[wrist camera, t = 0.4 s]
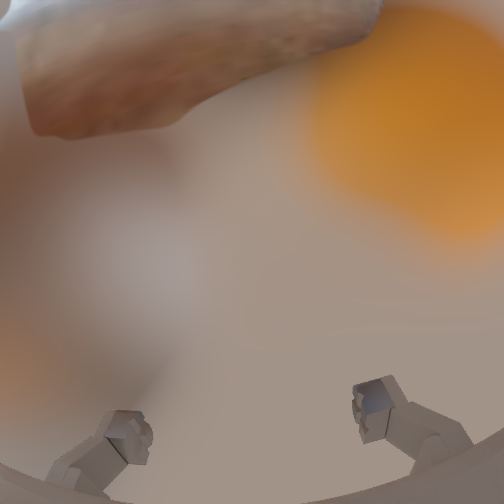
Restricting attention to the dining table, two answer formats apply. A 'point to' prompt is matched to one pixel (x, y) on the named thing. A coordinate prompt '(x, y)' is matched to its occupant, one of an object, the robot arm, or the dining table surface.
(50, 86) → the dining table surface
